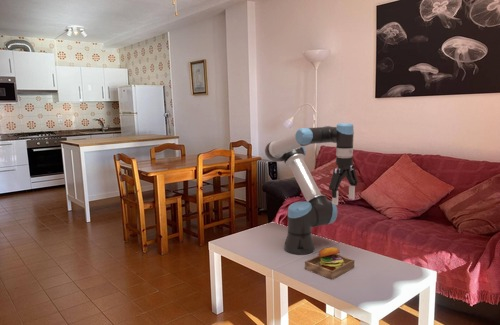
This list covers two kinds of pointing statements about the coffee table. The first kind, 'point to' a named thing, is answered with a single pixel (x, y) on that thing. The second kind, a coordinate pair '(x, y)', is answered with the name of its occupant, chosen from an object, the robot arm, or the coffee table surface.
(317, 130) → the robot arm
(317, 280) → the coffee table surface
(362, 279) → the coffee table surface
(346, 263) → the crate
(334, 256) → the cheeseburger
